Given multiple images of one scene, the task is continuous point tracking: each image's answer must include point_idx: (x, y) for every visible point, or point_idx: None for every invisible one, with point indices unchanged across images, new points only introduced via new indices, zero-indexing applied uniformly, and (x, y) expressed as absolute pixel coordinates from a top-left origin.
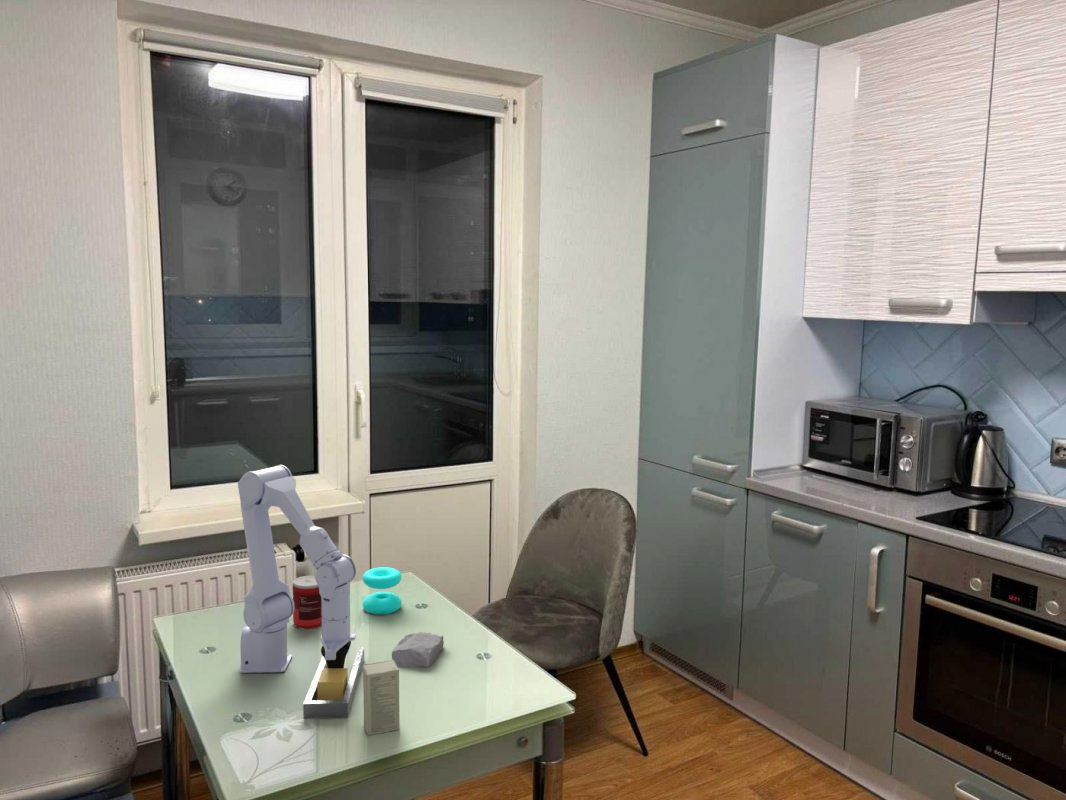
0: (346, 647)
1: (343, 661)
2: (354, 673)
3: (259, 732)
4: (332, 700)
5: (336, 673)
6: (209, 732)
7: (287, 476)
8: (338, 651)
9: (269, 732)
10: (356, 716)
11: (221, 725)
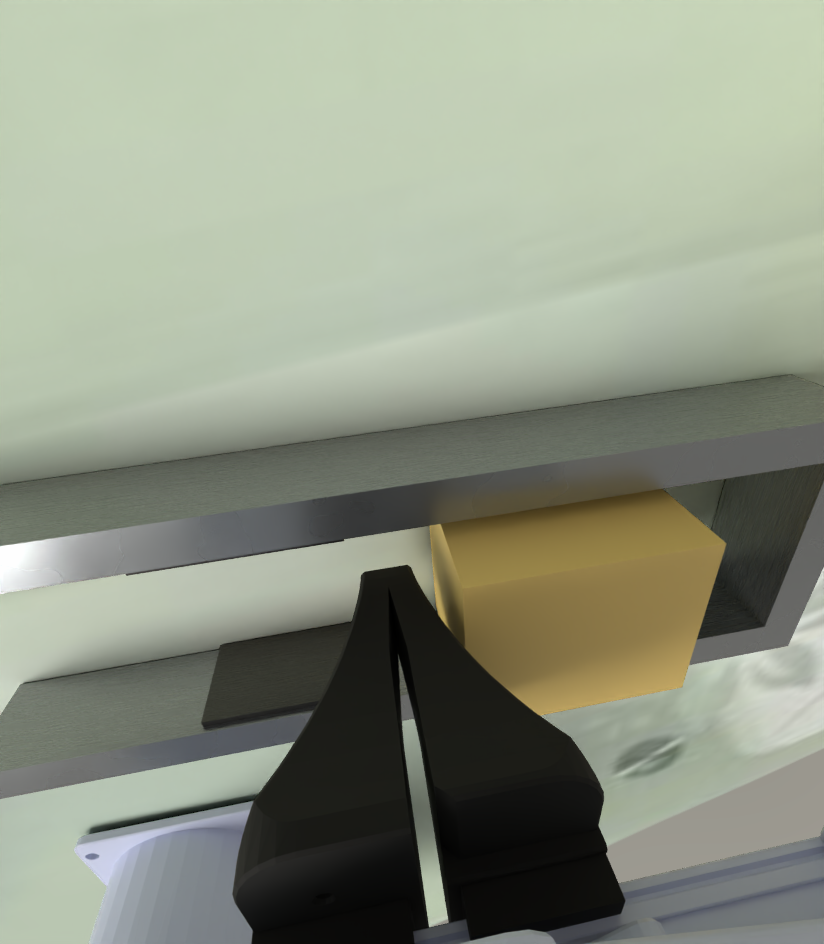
0: (468, 819)
1: (485, 672)
2: (395, 502)
3: (777, 679)
4: (812, 520)
5: (559, 630)
6: (723, 785)
7: None
8: (597, 839)
9: (790, 653)
10: (791, 321)
11: (688, 780)
